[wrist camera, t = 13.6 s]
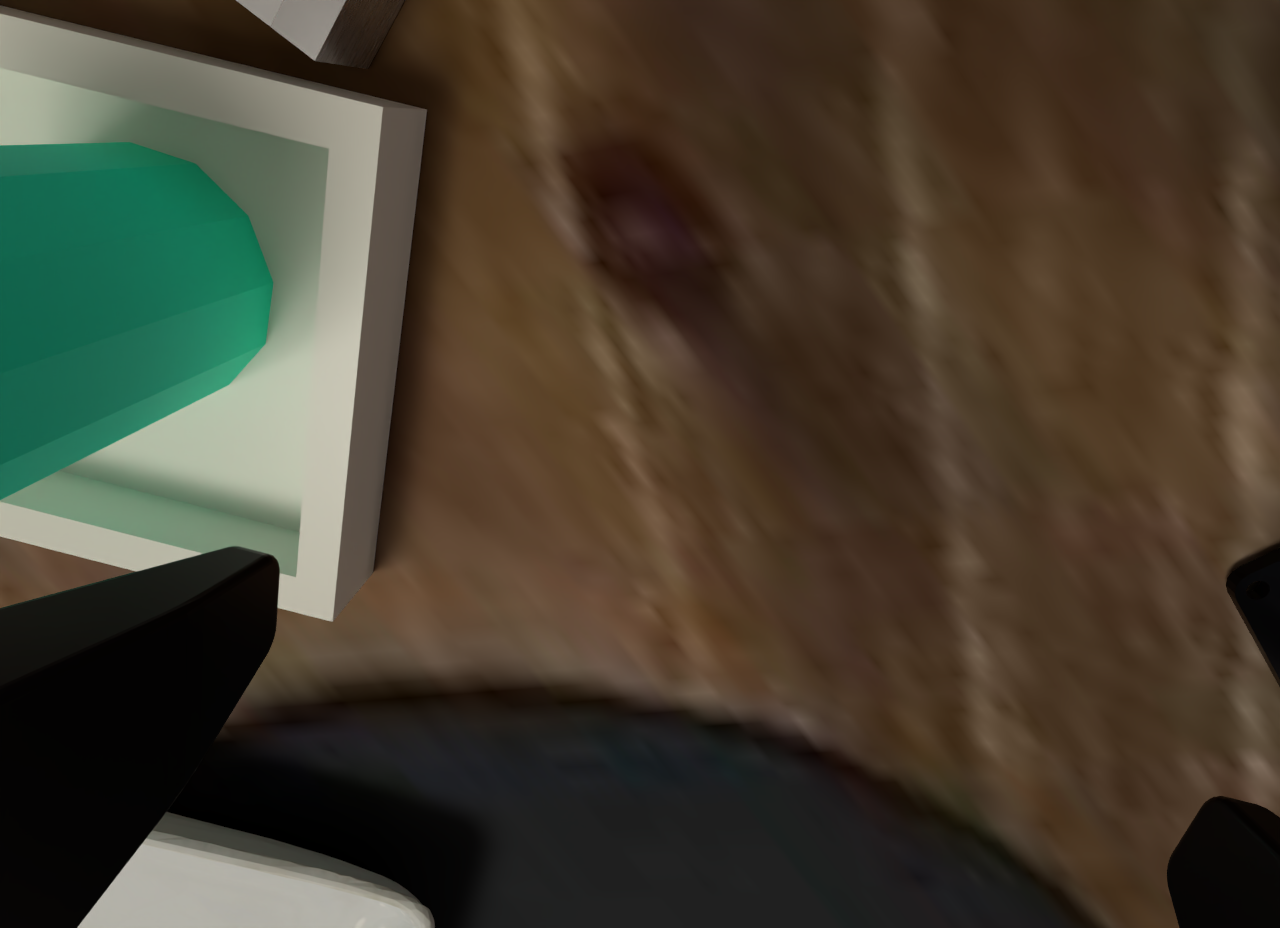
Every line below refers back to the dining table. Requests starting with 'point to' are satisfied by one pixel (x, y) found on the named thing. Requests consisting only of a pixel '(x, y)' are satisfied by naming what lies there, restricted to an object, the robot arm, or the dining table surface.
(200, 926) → the square plate
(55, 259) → the candle
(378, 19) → the steel collar
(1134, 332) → the dining table surface
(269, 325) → the tray
